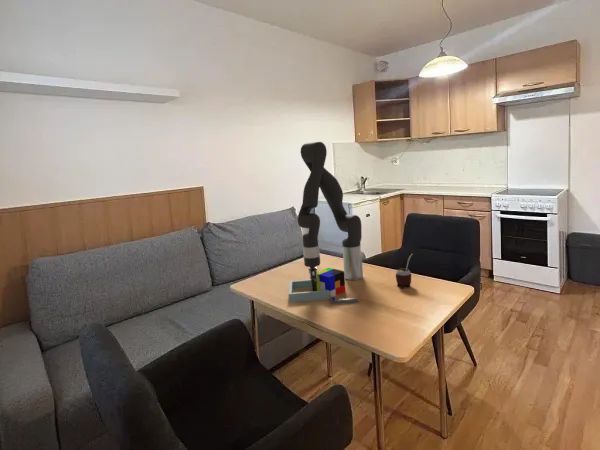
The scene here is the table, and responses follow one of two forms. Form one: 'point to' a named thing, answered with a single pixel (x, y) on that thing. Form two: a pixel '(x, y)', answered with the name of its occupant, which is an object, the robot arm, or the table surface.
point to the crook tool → (344, 300)
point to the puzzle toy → (331, 281)
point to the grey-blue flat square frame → (305, 295)
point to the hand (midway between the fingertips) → (314, 287)
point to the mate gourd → (404, 276)
